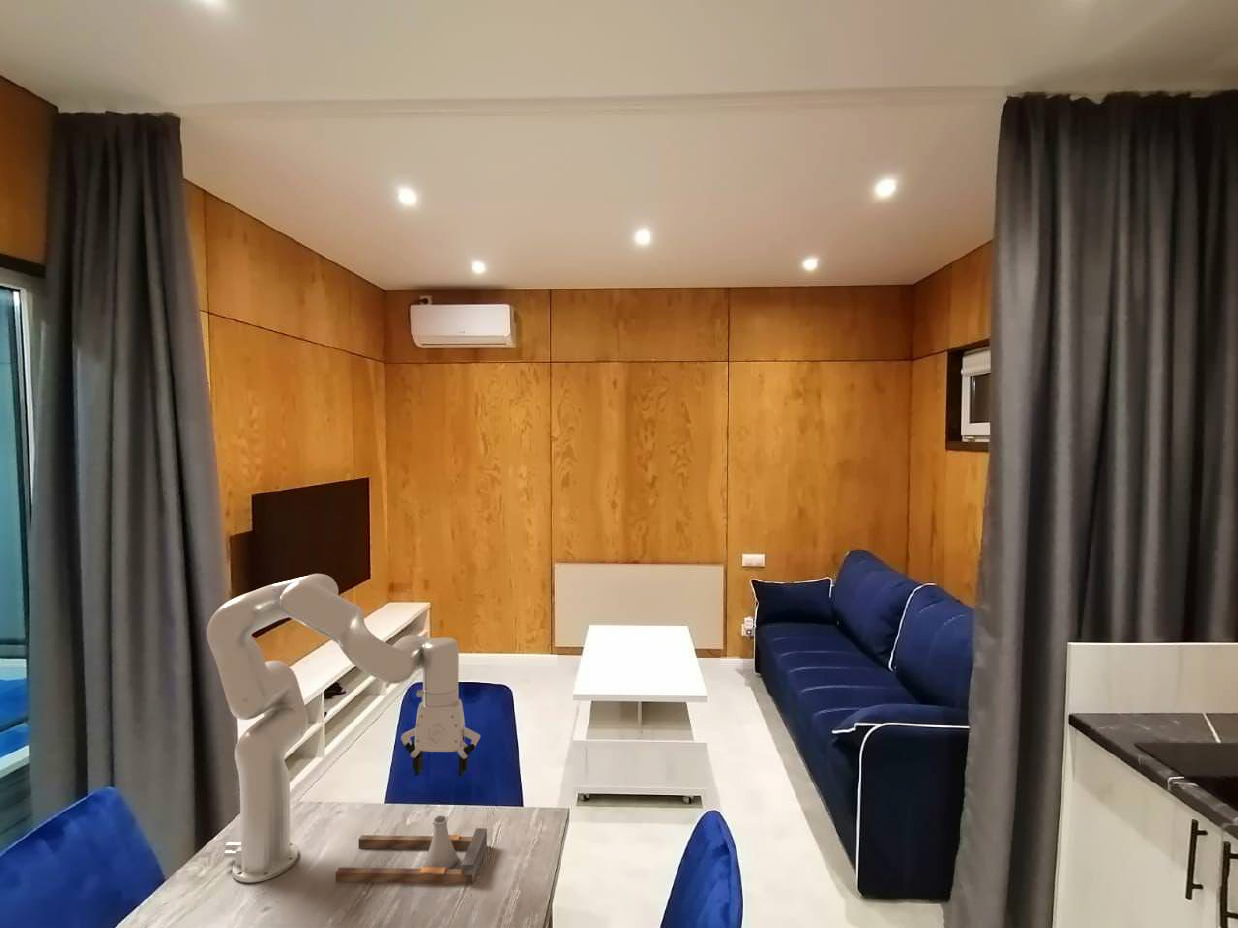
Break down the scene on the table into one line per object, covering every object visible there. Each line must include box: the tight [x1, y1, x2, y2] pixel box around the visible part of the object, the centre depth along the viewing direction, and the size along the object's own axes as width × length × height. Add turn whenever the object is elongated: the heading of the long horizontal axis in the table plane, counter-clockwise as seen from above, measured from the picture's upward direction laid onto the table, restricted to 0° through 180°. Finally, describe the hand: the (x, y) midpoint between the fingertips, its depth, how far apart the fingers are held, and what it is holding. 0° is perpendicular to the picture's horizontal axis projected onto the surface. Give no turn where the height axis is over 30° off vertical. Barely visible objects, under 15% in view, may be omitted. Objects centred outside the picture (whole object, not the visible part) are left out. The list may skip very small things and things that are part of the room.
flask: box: [423, 814, 458, 869], centre depth 135 cm, size 7×7×10 cm
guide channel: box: [335, 827, 488, 885], centre depth 135 cm, size 29×13×4 cm, turn 89°
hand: (440, 772), depth 135 cm, fingers open, 9 cm apart
